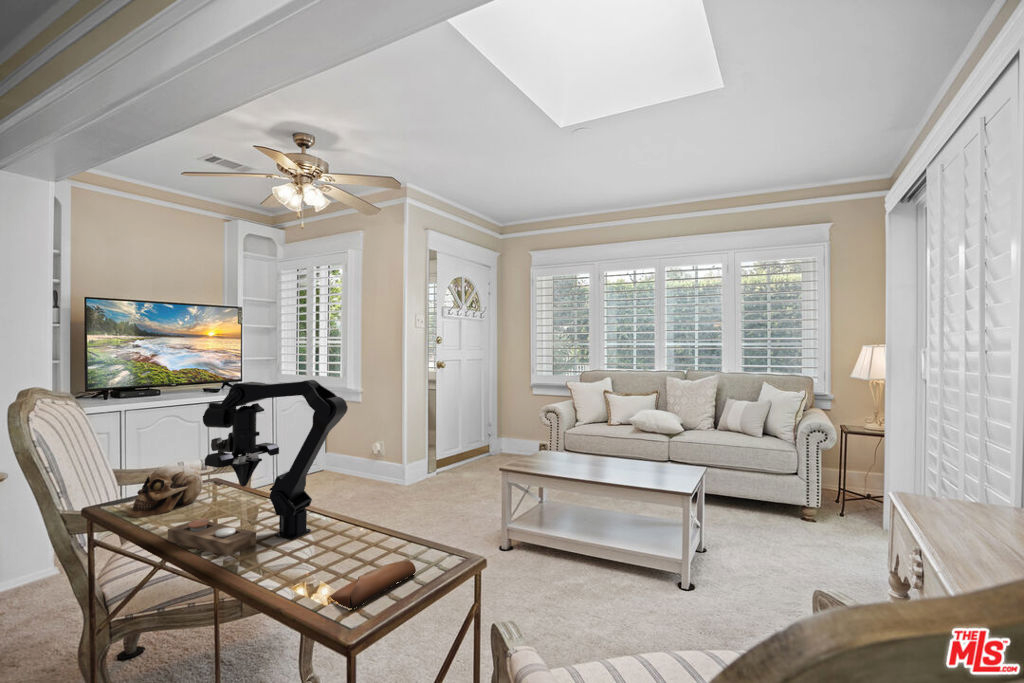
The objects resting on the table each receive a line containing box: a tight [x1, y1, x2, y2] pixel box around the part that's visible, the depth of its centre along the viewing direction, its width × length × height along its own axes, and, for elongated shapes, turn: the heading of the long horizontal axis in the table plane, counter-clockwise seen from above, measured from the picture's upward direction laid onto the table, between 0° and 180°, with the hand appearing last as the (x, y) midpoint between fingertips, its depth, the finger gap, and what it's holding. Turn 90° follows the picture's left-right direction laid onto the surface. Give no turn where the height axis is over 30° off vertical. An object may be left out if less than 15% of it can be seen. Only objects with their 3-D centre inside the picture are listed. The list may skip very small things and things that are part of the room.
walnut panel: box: [167, 521, 257, 557], centre depth 128 cm, size 22×8×3 cm, turn 67°
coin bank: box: [126, 465, 204, 518], centre depth 155 cm, size 16×17×13 cm
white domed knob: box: [215, 527, 236, 539], centre depth 126 cm, size 4×4×4 cm
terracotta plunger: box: [188, 518, 210, 532], centre depth 130 cm, size 4×4×4 cm
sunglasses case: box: [329, 560, 417, 609], centre depth 105 cm, size 18×7×7 cm
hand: (243, 486), depth 136 cm, fingers closed
